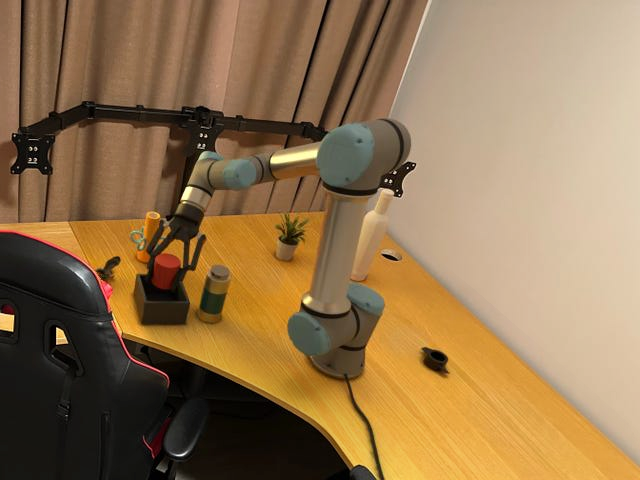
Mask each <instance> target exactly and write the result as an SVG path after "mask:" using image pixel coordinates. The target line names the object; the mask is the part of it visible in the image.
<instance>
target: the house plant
mask: <svg viewBox="0 0 640 480" xmlns="http://www.w3.org/2000/svg"><path fill="white" fill-rule="evenodd" d="M272 210H273V211H275V212H276V213H277V214H279V216H280V217H281V219H282V220H281V221H279V223H280V224H281V225H280V224H275V225H274V228H275V229H277V230H279V231H281V232H277V233H276V234H279V235H278V237H277V243H276V251H275V257H276V258H277V259H278V260H281V261H284V262H285V261H290V260H292V257H293V256H294V254H295V252H296V250H297V249H298V246H299V245H300V242H301V241H302V242H303V244H305V243H306V238H307V236H306V234H305V233H306V232H307V230H306V229H305V228H312V226H311V225H307V224H308V223H309V221H310V220H313V219H315V217H313V216H312V217H308V218H306V219H301V220H299V218H300V217H299V216H300V212H297V214H296V216H295V218H294V220H293V221H291V220H290V218H291V217H290V214H289V212H288V211H287V210H283V214H284V218H283V216H282V214H281V213H280V212H279V211H277V210H275V209H273V208H272ZM284 219H285V221H284ZM305 225H307V226H305ZM304 226H305V227H304ZM303 236H304V237H305V238H304V237H303Z"/></svg>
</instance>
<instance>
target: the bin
mask: <svg viewBox="0 0 640 480" xmlns="http://www.w3.org/2000/svg"><path fill="white" fill-rule="evenodd" d="M146 275H147V273H136V274H135V281H134V288H133V299H134V303H135V307H136V309H137V313H138V318H139V321H140V324H141V325H187V320H188V316H189V311H190V307H191V301H190V299H189V296H188V293H187V291H186V288H185V284H184V282H183V281H182V282H181V281H179V283H178V285H177V287H176V290H175V292H172V291H171V290H170V289H161V288H158V287H156V286H155V285H154V284H153V283H152V277H151V279H150V282H149V283H147V282H146V281H145V277H146Z"/></svg>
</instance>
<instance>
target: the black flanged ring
mask: <svg viewBox="0 0 640 480" xmlns="http://www.w3.org/2000/svg"><path fill="white" fill-rule="evenodd" d="M420 350H421V351H423V352H424V354H425V356H424V358H423V360H422V362H423V364H424V366H426V367H427V368H428V369H430V370H431V371H435V372H443V373H445V374H447V375H448V374H451V373H450V371H449V370H448V369H447V368H446V366H447V364H448V362H449V357H448V355H447V354H445V353H444V352H443V351H441V350H439V349H432V348H430V347H427V346H423V347H421V348H420Z"/></svg>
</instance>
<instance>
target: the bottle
mask: <svg viewBox="0 0 640 480" xmlns="http://www.w3.org/2000/svg"><path fill="white" fill-rule="evenodd" d="M394 195H395V192H394V190H392V189H390V188H383V189H382V190H381V192H380V194H379V198H378V200H377V202H376V205H375V207H374V209H372V210H370V211H368V212H367V213H365V216H364V220H363V225H362V229H361V234H360V238H359V243H358V247H357V252H356V256H355V261H354V265H353V269H352V274H351V278H350V280H351V281H355V282H360V281H364V280H366V277H367V276H368V275H369V272H370V268H371V266H372V264H373V261H374V259H375V257H376V255H377V253H378V251H379V248H380V245H381V243H382V241H383V238H384V236H385V234H386V232H387V229H388V227H389V217H388V214H387V212H388V209H389V207H390V205H391V202H392V200H393V199H394Z"/></svg>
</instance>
